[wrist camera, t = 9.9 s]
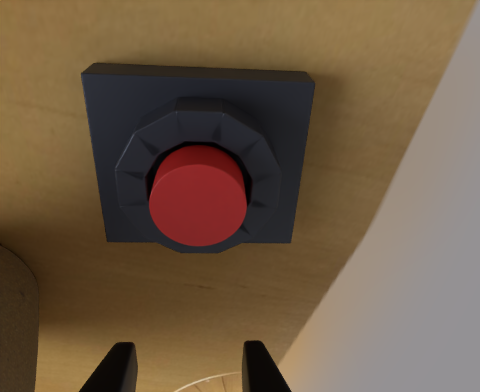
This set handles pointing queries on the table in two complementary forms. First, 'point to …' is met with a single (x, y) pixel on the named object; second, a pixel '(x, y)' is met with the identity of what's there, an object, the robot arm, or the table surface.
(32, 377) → the plant pot
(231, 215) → the red button
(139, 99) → the button box
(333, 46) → the table surface
